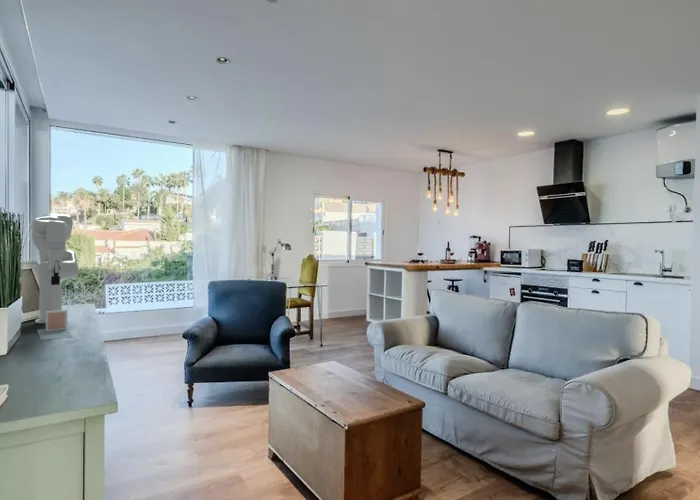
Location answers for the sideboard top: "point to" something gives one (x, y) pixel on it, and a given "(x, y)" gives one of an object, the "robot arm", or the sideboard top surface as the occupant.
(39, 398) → the sideboard top surface
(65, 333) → the mat
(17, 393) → the sideboard top surface
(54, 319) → the picture frame
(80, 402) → the sideboard top surface
